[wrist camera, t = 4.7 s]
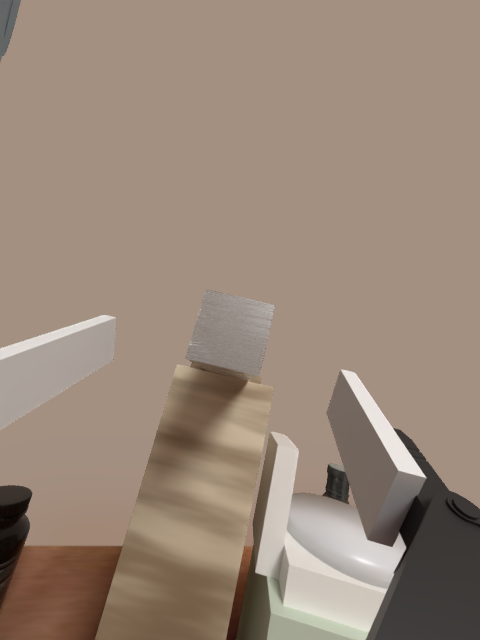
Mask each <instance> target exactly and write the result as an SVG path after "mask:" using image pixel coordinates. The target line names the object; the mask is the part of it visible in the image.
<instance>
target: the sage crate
mask: <svg viewBox="0 0 480 640" xmlns="http://www.w3.org/2000/svg"><path fill="white" fill-rule="evenodd" d="M368 633H369V632H366V631H363V630H360V629H356V628H353V627H350V626H347V625H344V624H341V623H337V622H334V621H331V620H328V619H325V618H322V617H319V616H315V615H312V614H309V613H306V612H303V611H300V610H296V609H293V608H290V607H287V606H284V605H283V602H282V596H281V590H280V584H279V580H277V579H274V578H271V577H268V576H264V575H261V574H258V573H255V558H254V545H253V550H252V556H251V561H250V567H249V572H248V578H247V583H246V589H245V594H244V599H243V605H242V610H241V616H240V621H239V627H238V632H237V638H236V640H366V638H367V636H368Z"/></svg>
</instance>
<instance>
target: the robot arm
mask: <svg viewBox="0 0 480 640" xmlns="http://www.w3.org/2000/svg"><path fill="white" fill-rule="evenodd" d="M20 1H21V0H0V60H1V58H2V56H4V54H5V53H6V51H7V48H8V45H9V42H10V39H11V35H12V32H13V29H14V25H15V21H16V17H17V13H18V9H19V6H20ZM115 325H116V317H111V316H107V315H102V316H99V317H96V318H93V319H90V320H87V321H84V322H81V323H77V324H74V325H71V326H68V327H65V328H62V329H59V330H56V331H53V332H50V333H47V334H44V335H40V336H37V337H34V338H31V339H28V340H25V341H22V342H19V343H16V344H13V345H10V346H7V347H4V348H0V430H1V429H3V428H4V427H6V426H8V425H9V424H11V423H13V422H14V421H16V420H17V419H19V418H20V417H22V416H24V415H25V414H27V413H29V412H30V411H32V410H33V409H35V408H37V407H38V406H40V405H42V404H43V403H45V402H46V401H48V400H49V399H51V398H53V397H54V396H56V395H58V394H59V393H61V392H62V391H64V390H66V389H67V388H69V387H70V386H72V385H74V384H75V383H77V382H79V381H80V380H82V379H83V378H85V377H87V376H88V375H90V374H91V373H93V372H95V371H96V370H98V369H100V368H101V367H103V366H104V365H106V364H108V363H109V362H111V361H112V360H114V344H115ZM327 415H328V419H329V422H330V425H331V428H332V431H333V434H334V438H335V441H336V444H337V447H338V450H339V453H340V456H341V460H342V463H343V465H344V469H345V472H346V475H347V478H348V481H349V485H350V488H351V491H352V494H353V497H354V500H355V503H356V507H357V510H358V513H359V516H360V519H361V522H362V525H363V528H364V532H365V535H366V538H367V540H369V541H372V542H376V543H379V544H383V545H386V546H390V547H393V545H394V543H395V541H396V539H397V537H398V535H399V533H400V535H401V537H402V539H403V542H404V544H405V546H406V549H405V551H404V553H403V555H402V557H401V559H400V561H399V563H398V565H397V567H396V569H395V571H394V576H393V578H392V580H391V583H390V585H389V587H388V590H387V592H386V594H385V596H384V599H383V601H382V603H381V606H380V608H379V610H378V613H377V615H376V617H375V619H374V622H373V624H372V626H371V629H370V631H369V633H368V636H367V638H366V640H480V509H479V508H478V507H477V506H475V505H474V504H473V503H471V502H470V501H468V500H467V499H465V498H464V497H462V496H460V495H458V494H456V493H454V492H451V491H449V490H448V488H447V487H446V486H445V484H444V483H443V482H442V480H441V479H440V478H439V476H438V475H437V474H436V472H435V471H434V469H433V468H432V467H431V465H430V464H429V463H428V462H427V461H426V459H425V457H424V456H423V455H422V453H420V452H419V449H418V448H417V447H416V445H415V444H414V442H413V441H412V440H411V439H410V438H409V437H408V436H406V435H405V434H404V433H403V432H402V431H401V430H398V429H394V428H392V427H391V425H390V423H389V422H388V421H387V419H386V418H385V416H384V415H383V413H382V412H381V410H380V409H379V407H378V406H377V404H376V403H375V401H374V400H373V399H372V397H371V396H370V394H369V393H368V391H367V390H366V388H365V387H364V385H363V384H362V382H361V381H360V379H359V378H358V377H357V375H356V373H354V372H350V371H346V370H340V373H339V376H338V379H337V382H336V385H335V388H334V391H333V394H332V397H331V400H330V403H329V407H328V410H327Z"/></svg>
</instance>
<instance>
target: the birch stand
mask: <svg viewBox="0 0 480 640" xmlns="http://www.w3.org/2000/svg"><path fill="white" fill-rule="evenodd" d="M262 374H263V369H261V374H260V377H257V378H255V379H253V380H250V381H245V380H241V379H236V378H232V377H228V376H224V375H220V374H216V373H212V372H209V371H207V370H205V369H203V368H202V367H200V366H198V365H196V364H195V363H193V362H192V364H191V367H187V366H183V365H177V367H176V370H175V374H174V377H173V380H172V383H171V387H170V390H169V393H168V397H167V400H166V404H165V407H164V411H163V414H162V417H161V420H160V424H159V427H158V430H157V434H156V437H155V440H154V444H153V447H152V450H151V454H150V457H149V460H148V464H147V467H146V470H145V474H144V477H143V480H142V484H141V487H140V490H139V494H138V497H137V500H136V504H135V507H134V510H133V514H132V517H131V521H130V524H129V527H128V530H127V534H126V537H125V540H124V544H123V547H122V550H121V554H120V557H119V560H118V564H117V567H116V570H115V574H114V577H113V580H112V584H111V587H110V590H109V594H108V597H107V600H106V604H105V607H104V610H103V614H102V617H101V620H100V624H99V627H98V630H97V634H96V637H95V640H226V637H227V632H228V626H229V621H230V616H231V611H232V606H233V600H234V595H235V590H236V585H237V579H238V574H239V569H240V564H241V559H242V553H243V548H244V542H245V537H246V533H247V527H248V522H249V517H250V512H251V506H252V501H253V495H254V491H255V486H256V480H257V475H258V470H259V465H260V460H261V454H262V449H263V444H264V439H265V434H266V428H267V423H268V418H269V413H270V407H271V402H272V397H273V392H274V387H270V386H265V385H261V384H260V383H261V379H262Z"/></svg>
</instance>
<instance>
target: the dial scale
mask: <svg viewBox="0 0 480 640" xmlns="http://www.w3.org/2000/svg"><path fill="white" fill-rule="evenodd" d="M298 454H299V450H298V449H297V447H296V446H295V445H294V444H293V443H292V442H291V441H290V439H289V438H288V437H287V436H286V435H283V434H280V433H276V432H272V431H271V432H270V434H269V439H268V445H267V450H266V455H265V461H264V466H263V471H262V477H261V482H260V487H259V493H258V498H257V504H256V509H255V514H254V519H253V537H254V558H255V573H258V574H261V575H264V576H268V577H271V578H274V579H277V580H279V584H280V590H281V596H282V602H283V605H284V606H287V607H290V608H293V609H296V610H300V611H303V612H306V613H309V614H312V615H315V616H319V617H322V618H325V619H328V620H331V621H334V622H337V623H341V624H344V625H347V626H350V627H353V628H356V629H360V630H363V631H366V632H369V631H370V629H371V626H372V624H373V622H374V619H375V617H376V615H377V613H378V610H379V608H380V606H381V603H382V601H383V599H384V596H385V594H386V592H387V590H388V587H389V585H390V583H391V580H392V578H393V576H394V571H395V569H396V567H397V565H398V563H399V561H400V559H401V557H402V555H403V553H404V551H405V549H406V546H405V544H404V542H403V539H402V537H401V535H400V533H399V535H398V537H397V539H396V541H395V543H394V545H393V547H390V546H386V545H383V544H379V543H376V542H372V541H369V540H367V538H366V535H365V532H364V528H363V525H362V522H361V519H360V516H359V513H358V510H357V508H356V507H353V506H351V505H349V504H346V503H343V502H341V501H338V500H335V499H332V498H329V497H325V496H321V495H316V494H310V493H294V494H292V492H293V486H294V479H295V473H296V467H297V460H298Z"/></svg>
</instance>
